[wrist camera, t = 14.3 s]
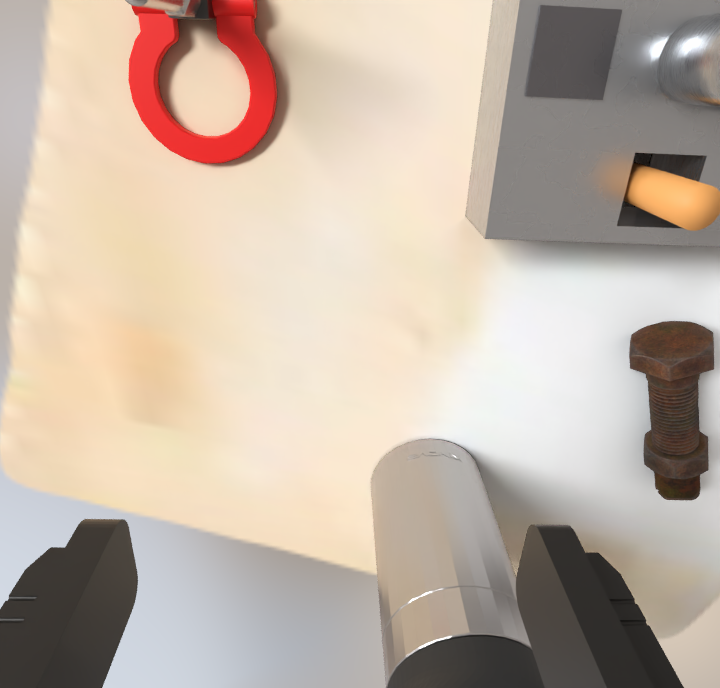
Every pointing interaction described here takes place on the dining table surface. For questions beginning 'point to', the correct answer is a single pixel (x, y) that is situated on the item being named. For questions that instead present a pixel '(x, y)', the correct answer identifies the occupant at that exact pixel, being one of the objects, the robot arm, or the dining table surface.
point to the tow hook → (234, 29)
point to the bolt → (674, 403)
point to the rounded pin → (673, 197)
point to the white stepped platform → (594, 117)
